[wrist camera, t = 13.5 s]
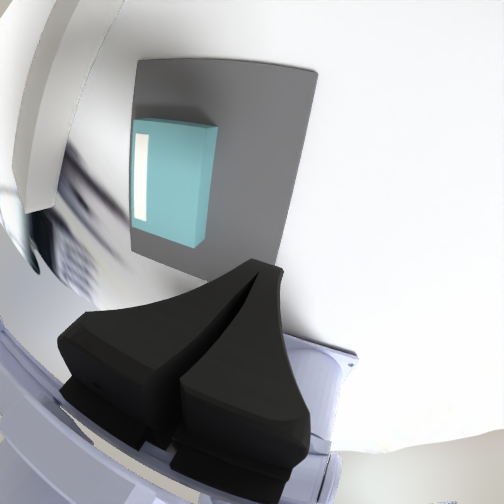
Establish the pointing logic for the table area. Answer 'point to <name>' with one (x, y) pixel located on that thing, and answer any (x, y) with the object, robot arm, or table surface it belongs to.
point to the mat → (230, 153)
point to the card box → (172, 178)
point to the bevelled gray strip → (56, 94)
